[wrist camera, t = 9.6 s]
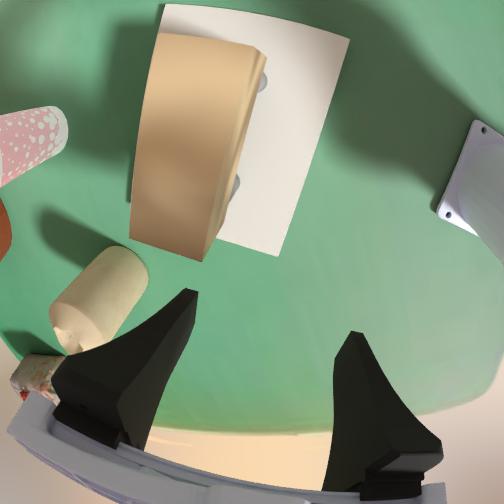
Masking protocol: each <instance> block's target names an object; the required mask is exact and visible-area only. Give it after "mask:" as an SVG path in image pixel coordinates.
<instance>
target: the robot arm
mask: <svg viewBox="0 0 504 504" xmlns="http://www.w3.org/2000/svg"><path fill="white" fill-rule="evenodd" d="M482 127H484V132H483V133H482V131H481V129H482ZM447 212H450V213H449V215H448V216H446V213H447ZM436 213H437V215H438V216H439V217H440V218H441V219H443V220H446V221H448V222H450V223H452V224H454V225H456V226H458V227H460V228H462V229H464V230H466V231H468V232H470V233H472V234H474V235H476V236H478V237H480V238H481V239H482V240H483V242H484V243H485V244H486V245H487V246H488V247H489V249H490V250H491V251H492V252H493V253H494V255H495V256H496V257H497V258H498V259H499V261H500V262H501V263H502V264H503V266H504V137H503V136H502V135H500V134H499V133H498V132H496V131H495V130H493V129H492V128H490V127H489V126H488V125H486V124H485V123H483V122H482V121H479V120H474V121H473V122H472V124H471V127H470V130H469V133H468V136H467V138H466V141H465V144H464V146H463V149H462V152H461V154H460V157H459V159H458V162H457V164H456V167H455V169H454V171H453V174H452V176H451V178H450V181H449V183H448V185H447V188H446V190H445V192H444V194H443V196H442V199H441V201H440V203H439V205H438V207H437V210H436ZM197 299H198V291H194V290H191V289H187V288H185V289H183V290H182V291H181V292H180V293H179V294H178V295H177V296H176V297H175V298H173V299H172V300H171V301H170V302H169V303H168V304H167V305H165V306H164V307H163V308H162V309H160V310H159V311H158V312H157V313H156V314H154V315H153V316H151V317H150V318H149V319H147V320H146V321H145V322H143V323H142V324H140V325H139V326H137V327H136V328H134V329H132V330H131V331H129V332H127V333H125V334H124V335H122V336H120V337H118V338H116V339H114V340H112V341H110V342H107V343H105V344H103V345H100V346H98V347H95V348H92V349H90V350H87V351H83V352H80V353H76V354H73V355H69V356H67V357H66V358H65V359H64V360H63V361H62V362H61V364H60V365H59V366H58V368H57V369H56V371H55V372H54V374H53V375H52V377H51V384H52V387H53V389H54V390H55V392H56V394H57V396H58V398H59V399H60V402H59V404H58V405H57V406H56V404H54V403H53V402H52V401H50V400H49V399H47V398H46V397H44V396H42V395H41V394H39V393H37V392H36V391H34V390H31V392H30V393H29V395H28V396H27V398H26V399H25V401H24V402H23V404H22V405H21V407H20V409H19V410H18V412H17V413H16V415H15V417H14V418H13V420H12V421H11V423H10V425H9V426H8V428H7V432H8V433H9V434H10V435H11V436H12V437H13V438H14V439H15V440H16V441H17V442H18V443H19V444H20V445H21V446H22V447H24V448H25V449H26V450H27V451H28V452H29V453H31V454H32V455H34V456H35V457H36V458H38V459H40V460H41V461H43V462H44V463H46V464H47V465H49V466H51V467H52V468H54V469H55V470H57V471H59V472H60V473H62V474H63V475H65V476H67V477H69V478H70V479H72V480H74V481H76V482H77V483H79V484H81V485H83V486H85V487H87V488H88V489H90V490H92V491H94V492H96V493H98V494H100V495H102V496H104V497H106V498H108V499H110V500H112V501H114V502H117V503H119V504H447V501H446V490H445V489H446V488H445V483H444V482H442V483H433V484H427V485H423V486H421V481H422V480H424V473H425V472H426V471H428V470H429V469H431V468H433V467H434V466H436V465H437V464H438V463H440V462H441V461H442V459H443V457H444V455H443V448H442V443H441V440H440V439H439V438H437V437H436V436H435V435H434V434H433V433H431V432H430V431H429V430H428V429H427V428H426V427H425V426H424V425H423V424H422V423H421V422H420V421H419V420H418V419H417V418H416V417H415V416H414V415H413V414H412V413H411V411H410V410H409V409H408V408H407V407H406V405H405V404H404V403H403V402H402V400H401V399H400V397H399V396H398V395H397V393H396V392H395V390H394V389H393V387H392V386H391V384H390V383H389V381H388V379H387V378H386V376H385V374H384V373H383V371H382V369H381V367H380V365H379V363H378V362H377V360H376V358H375V356H374V354H373V352H372V350H371V348H370V346H369V344H368V342H367V340H366V338H365V336H364V334H363V333H360V332H355V331H351V332H350V334H349V335H348V337H347V339H346V340H345V342H344V344H343V345H342V347H341V349H340V350H339V352H338V354H337V355H336V357H335V361H334V371H333V397H334V426H333V435H332V443H331V449H330V455H329V461H328V465H327V470H326V475H325V479H324V483H323V487H322V490H321V491H314V490H302V489H294V488H286V487H279V486H271V485H266V484H260V483H254V482H249V481H243V480H239V479H235V478H230V477H225V476H221V475H217V474H213V473H210V472H206V471H202V470H198V469H195V468H191V467H188V466H185V465H181V464H178V463H175V462H172V461H169V460H166V459H163V458H160V457H158V456H155V455H152V454H149V453H147V452H144V448H145V445H146V441H147V438H148V435H149V431H150V429H151V426H152V423H153V420H154V417H155V414H156V411H157V408H158V405H159V402H160V400H161V397H162V394H163V392H164V389H165V386H166V384H167V382H168V379H169V377H170V375H171V373H172V371H173V369H174V367H175V366H176V364H177V362H178V360H179V358H180V356H181V354H182V352H183V350H184V348H185V346H186V344H187V342H188V340H189V337H190V335H191V332H192V329H193V326H194V324H195V316H196V308H197Z"/></svg>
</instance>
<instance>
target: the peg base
mask: <svg viewBox="0 0 504 504" xmlns="http://www.w3.org/2000/svg"><path fill="white" fill-rule="evenodd" d="M158 33H166V34H178V35H187V36H196V37H203V38H211V39H217V40H223V41H229V42H235V43H240V44H245V45H250V46H254V47H255V48H256V49H258V50H259V51H260V52H261V53H263V54H264V55H265V56H266V57H267V61H266V64H265V68H264V71H263V75H262V78H261V82H260V85H259V89H258V92H257V96H256V100H255V103H254V107H253V111H252V114H251V118H250V122H249V126H248V129H247V133H246V137H245V141H244V144H243V148H242V152H241V156H240V160H239V164H238V168H237V172H236V176H235V180H234V184H233V188H232V192H231V196H230V200H229V204H228V208H227V212H226V216H225V221H224V224H223V225H222V227H221V229H220V231H219V232H218V234H217V236H216V238H218V239H221V240H225V241H228V242H231V243H234V244H238V245H241V246H244V247H247V248H251V249H254V250H257V251H260V252H264V253H267V254H270V255H273V256H277V257H278V256H279V253H280V250H281V247H282V245H283V242H284V239H285V236H286V233H287V230H288V228H289V225H290V222H291V219H292V216H293V213H294V210H295V208H296V205H297V202H298V199H299V196H300V193H301V190H302V187H303V184H304V181H305V178H306V175H307V172H308V170H309V167H310V164H311V161H312V158H313V155H314V152H315V149H316V146H317V143H318V139H319V136H320V133H321V130H322V127H323V124H324V121H325V118H326V115H327V112H328V109H329V106H330V102H331V99H332V96H333V93H334V90H335V87H336V84H337V80H338V77H339V74H340V71H341V67H342V64H343V61H344V58H345V54H346V51H347V48H348V45H349V41H350V39H349V38H346V37H343V36H340V35H337V34H334V33H331V32H328V31H324V30H321V29H318V28H314V27H311V26H307V25H304V24H300V23H296V22H292V21H288V20H284V19H279V18H275V17H270V16H266V15H260V14H255V13H250V12H244V11H237V10H231V9H223V8H215V7H206V6H195V5H180V4H166V5H165V8H164V12H163V15H162V19H161V22H160V26H159V30H158ZM157 37H158V34H157ZM156 41H157V38H156ZM155 45H156V42H155ZM154 49H155V46H154ZM153 53H154V50H153ZM152 58H153V55H152ZM151 62H152V59H151ZM150 67H151V64H150ZM149 71H150V69H149ZM148 76H149V73H148ZM147 81H148V78H147ZM146 86H147V83H146ZM145 92H146V89H145ZM144 97H145V94H144ZM143 103H144V100H143ZM142 109H143V106H142ZM141 115H142V112H141ZM140 121H141V118H140ZM139 127H140V124H139ZM138 134H139V131H138ZM137 142H138V139H137ZM136 149H137V146H136ZM135 158H136V154H135ZM134 166H135V163H134ZM133 176H134V173H133ZM132 187H133V183H132ZM131 198H132V195H131ZM130 212H131V209H130Z"/></svg>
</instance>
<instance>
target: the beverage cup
mask: <svg viewBox="0 0 504 504" xmlns="http://www.w3.org/2000/svg"><path fill="white" fill-rule="evenodd" d="M67 139H68V124H67V119H66V118H65V116H64V114H63V112H62V111H61V110H60V109H59V108H57V107H54V106H46V107H40V108H34V109H29V110H23V111H18V112H13V113H9V114H4V115H0V187H2V186H4V185H5V184H7V183H8V182H10V181H11V180H13V179H14V178H16V177H18V176H19V175H21V174H23V173H24V172H26V171H28V170H29V169H31V168H33V167H34V166H36V165H38V164H40V163H41V162H43V161H45V160H47V159H49V158H50V157H52V156H54V155H56V154H58V153H59V152H60V151H61V150H62V149H63V148H64V147H65V144H66V142H67Z"/></svg>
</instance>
